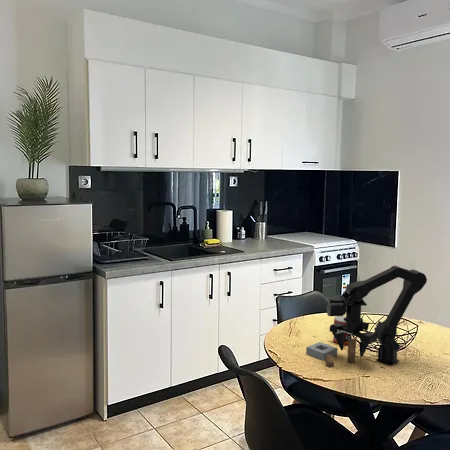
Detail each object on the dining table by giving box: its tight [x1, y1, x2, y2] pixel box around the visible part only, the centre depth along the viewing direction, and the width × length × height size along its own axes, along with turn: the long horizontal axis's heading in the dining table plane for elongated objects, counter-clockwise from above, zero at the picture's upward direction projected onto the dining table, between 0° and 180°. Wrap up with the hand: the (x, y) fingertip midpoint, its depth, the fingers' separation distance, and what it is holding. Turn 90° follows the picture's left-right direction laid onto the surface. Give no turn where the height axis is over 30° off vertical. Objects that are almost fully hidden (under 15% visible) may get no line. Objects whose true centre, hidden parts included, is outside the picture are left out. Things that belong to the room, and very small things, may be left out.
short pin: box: [325, 355, 335, 368], centre depth 185 cm, size 3×3×4 cm
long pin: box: [346, 338, 357, 364], centre depth 189 cm, size 3×3×9 cm
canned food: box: [332, 315, 353, 346], centre depth 210 cm, size 8×8×11 cm
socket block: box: [305, 341, 338, 362], centre depth 196 cm, size 9×9×3 cm
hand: (351, 353), depth 189 cm, fingers open, 9 cm apart
